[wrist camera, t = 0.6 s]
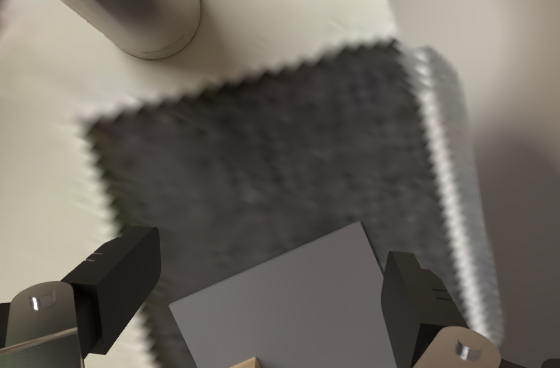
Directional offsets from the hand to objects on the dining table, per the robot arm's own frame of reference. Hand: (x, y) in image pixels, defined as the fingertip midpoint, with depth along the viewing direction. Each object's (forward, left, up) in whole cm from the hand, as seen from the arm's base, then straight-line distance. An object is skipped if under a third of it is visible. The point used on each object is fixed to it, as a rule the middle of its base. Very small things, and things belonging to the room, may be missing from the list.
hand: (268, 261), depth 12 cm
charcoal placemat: (+16, -3, -22) cm, 28 cm away
